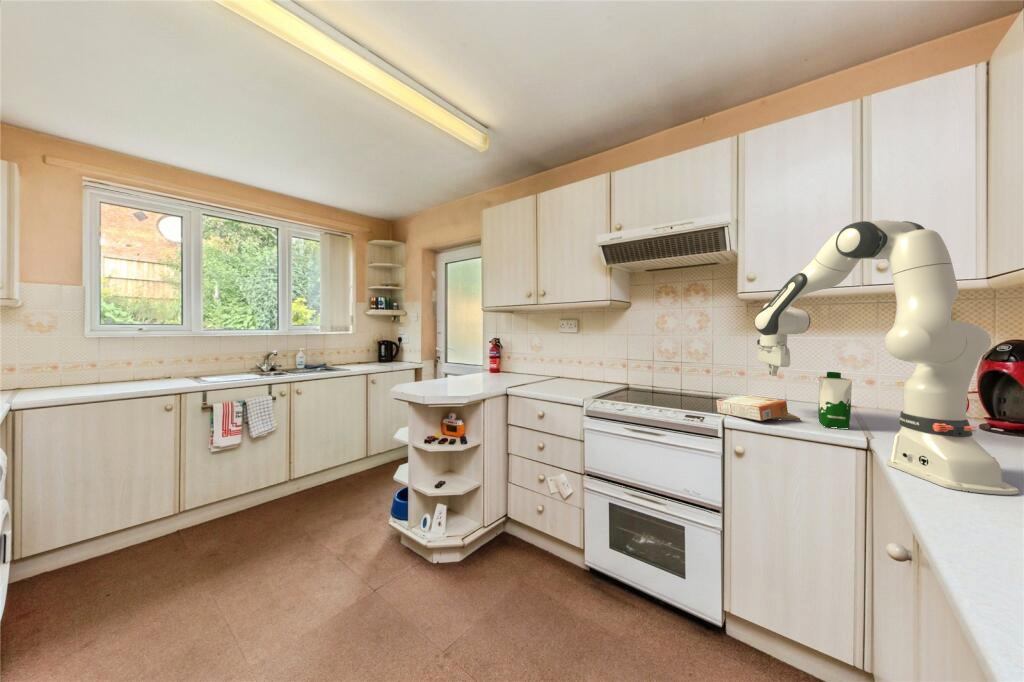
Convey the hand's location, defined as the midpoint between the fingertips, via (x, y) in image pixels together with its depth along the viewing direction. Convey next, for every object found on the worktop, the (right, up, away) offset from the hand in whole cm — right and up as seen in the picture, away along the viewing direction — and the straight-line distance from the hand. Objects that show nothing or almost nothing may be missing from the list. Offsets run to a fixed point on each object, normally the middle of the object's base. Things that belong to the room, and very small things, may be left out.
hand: (772, 375), depth 152 cm
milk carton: (+13, -18, -13) cm, 26 cm away
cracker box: (-6, -13, -9) cm, 17 cm away
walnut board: (+1, -17, +6) cm, 18 cm away
